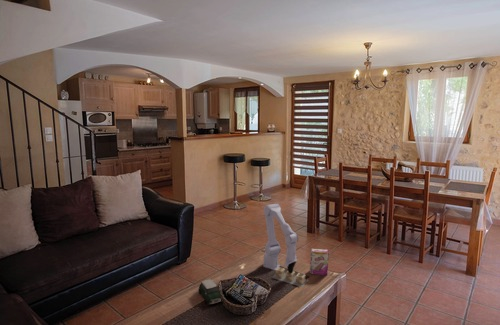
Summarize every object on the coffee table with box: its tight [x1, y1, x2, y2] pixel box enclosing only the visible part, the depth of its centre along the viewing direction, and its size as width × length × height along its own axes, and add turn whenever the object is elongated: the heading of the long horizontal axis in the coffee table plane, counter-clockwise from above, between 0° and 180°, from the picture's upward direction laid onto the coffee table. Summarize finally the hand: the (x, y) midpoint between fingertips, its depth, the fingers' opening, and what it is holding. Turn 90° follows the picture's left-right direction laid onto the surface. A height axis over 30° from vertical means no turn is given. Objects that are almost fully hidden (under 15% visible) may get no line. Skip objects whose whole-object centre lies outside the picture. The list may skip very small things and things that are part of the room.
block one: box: [275, 266, 286, 278], centre depth 202 cm, size 4×4×5 cm
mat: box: [271, 272, 309, 288], centre depth 199 cm, size 21×10×1 cm, turn 59°
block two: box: [295, 272, 306, 285], centre depth 195 cm, size 4×4×5 cm
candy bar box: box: [309, 248, 330, 276], centre depth 205 cm, size 11×5×16 cm, turn 84°
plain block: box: [285, 270, 296, 281], centre depth 198 cm, size 4×4×4 cm
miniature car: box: [198, 278, 222, 306], centre depth 178 cm, size 9×18×8 cm, turn 30°
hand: (290, 272), depth 198 cm, fingers closed, pressing on plain block
